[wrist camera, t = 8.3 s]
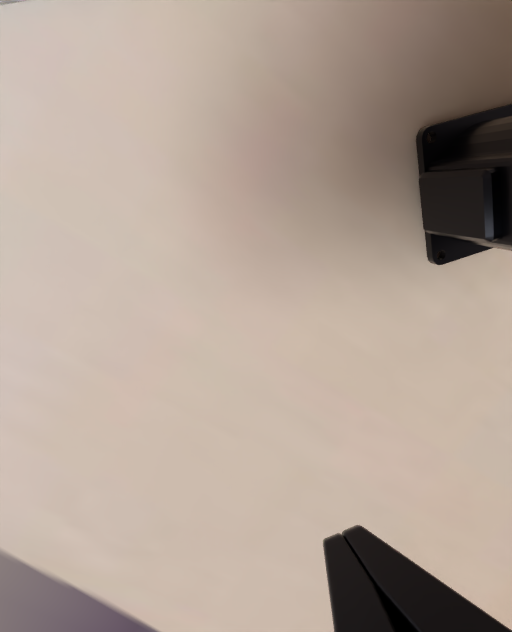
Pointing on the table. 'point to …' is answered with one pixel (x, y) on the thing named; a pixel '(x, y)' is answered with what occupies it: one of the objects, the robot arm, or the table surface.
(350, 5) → the table surface
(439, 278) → the table surface
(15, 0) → the flange plate
